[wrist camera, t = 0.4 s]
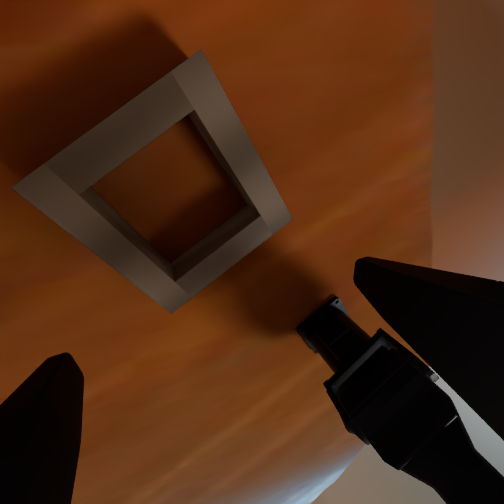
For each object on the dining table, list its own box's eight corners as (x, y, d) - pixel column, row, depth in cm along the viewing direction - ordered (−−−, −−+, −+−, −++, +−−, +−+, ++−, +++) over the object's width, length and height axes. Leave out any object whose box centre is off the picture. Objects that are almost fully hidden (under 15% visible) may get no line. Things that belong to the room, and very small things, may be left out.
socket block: (275, 208, 22) (292, 219, 20) (167, 292, 22) (171, 313, 19) (191, 61, 16) (201, 49, 13) (32, 177, 15) (10, 187, 13)
